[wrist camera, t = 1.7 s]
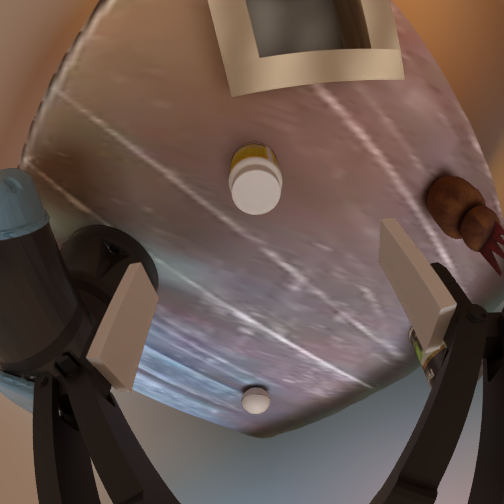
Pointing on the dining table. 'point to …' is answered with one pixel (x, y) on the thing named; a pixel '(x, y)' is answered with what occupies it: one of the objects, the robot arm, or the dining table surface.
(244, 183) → the supplement bottle
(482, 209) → the wooden figurine
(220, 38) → the drop box
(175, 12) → the dining table surface
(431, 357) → the coffee can
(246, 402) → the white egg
